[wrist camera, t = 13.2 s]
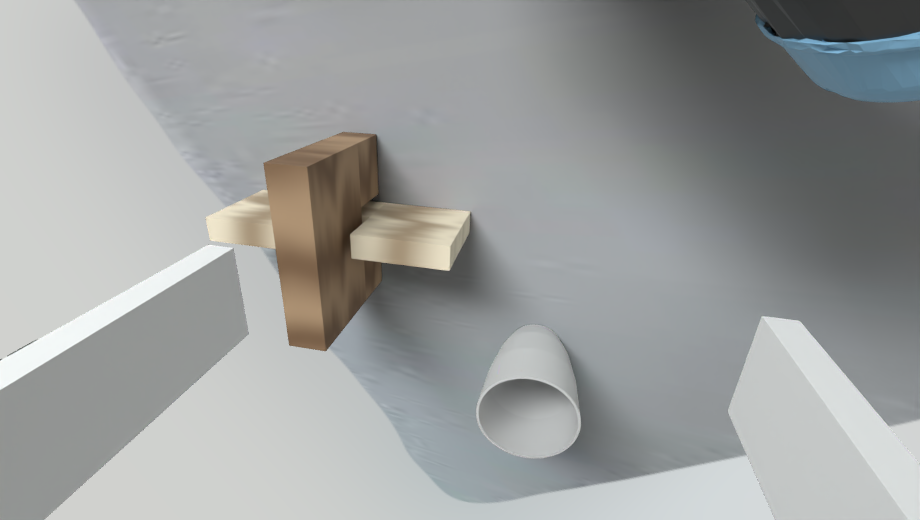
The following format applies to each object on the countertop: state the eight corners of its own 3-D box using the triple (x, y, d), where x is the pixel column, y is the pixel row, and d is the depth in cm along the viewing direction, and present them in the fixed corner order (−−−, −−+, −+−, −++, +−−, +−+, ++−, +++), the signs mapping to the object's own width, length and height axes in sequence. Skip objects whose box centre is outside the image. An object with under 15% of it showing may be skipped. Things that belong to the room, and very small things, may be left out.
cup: (492, 374, 48) (475, 449, 39) (494, 305, 45) (476, 370, 36) (573, 385, 47) (575, 465, 38) (582, 314, 43) (586, 384, 34)
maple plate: (266, 209, 46) (210, 240, 38) (263, 189, 45) (205, 217, 38) (469, 232, 42) (449, 270, 35) (470, 211, 41) (450, 246, 34)
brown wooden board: (343, 131, 41) (263, 163, 30) (376, 134, 40) (306, 166, 30) (352, 276, 47) (289, 345, 36) (381, 280, 46) (325, 351, 35)
